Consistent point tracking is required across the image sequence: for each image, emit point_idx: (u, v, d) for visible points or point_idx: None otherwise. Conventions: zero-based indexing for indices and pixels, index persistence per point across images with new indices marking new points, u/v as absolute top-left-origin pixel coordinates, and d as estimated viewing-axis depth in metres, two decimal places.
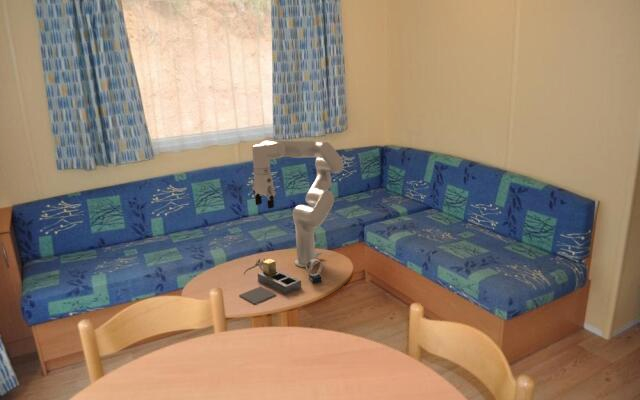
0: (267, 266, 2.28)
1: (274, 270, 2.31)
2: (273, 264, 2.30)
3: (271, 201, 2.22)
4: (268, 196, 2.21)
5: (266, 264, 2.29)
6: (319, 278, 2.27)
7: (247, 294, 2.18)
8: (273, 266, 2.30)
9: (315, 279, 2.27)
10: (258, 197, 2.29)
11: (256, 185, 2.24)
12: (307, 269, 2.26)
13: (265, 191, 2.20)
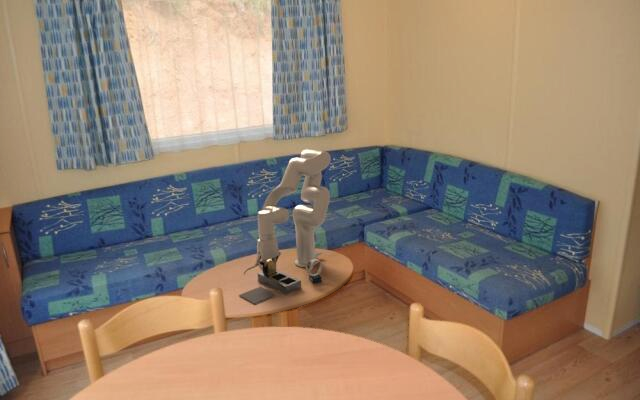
0: (267, 266, 2.28)
1: (274, 270, 2.31)
2: (273, 264, 2.30)
3: None
4: (276, 258, 2.32)
5: (266, 264, 2.29)
6: (319, 278, 2.27)
7: (247, 294, 2.18)
8: (273, 266, 2.30)
9: (315, 279, 2.27)
10: None
11: (267, 251, 2.26)
12: (307, 269, 2.26)
13: (278, 251, 2.31)
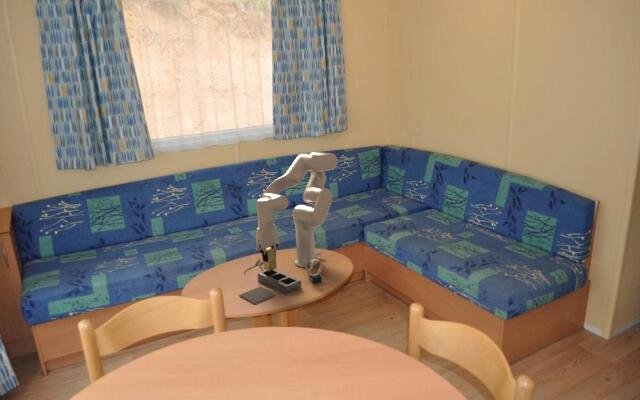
0: (267, 254, 2.27)
1: (274, 258, 2.30)
2: (272, 252, 2.28)
3: None
4: (276, 246, 2.30)
5: (266, 252, 2.27)
6: (319, 278, 2.27)
7: (247, 294, 2.18)
8: (273, 254, 2.29)
9: (315, 279, 2.27)
10: None
11: (267, 239, 2.24)
12: (307, 269, 2.26)
13: (277, 239, 2.29)
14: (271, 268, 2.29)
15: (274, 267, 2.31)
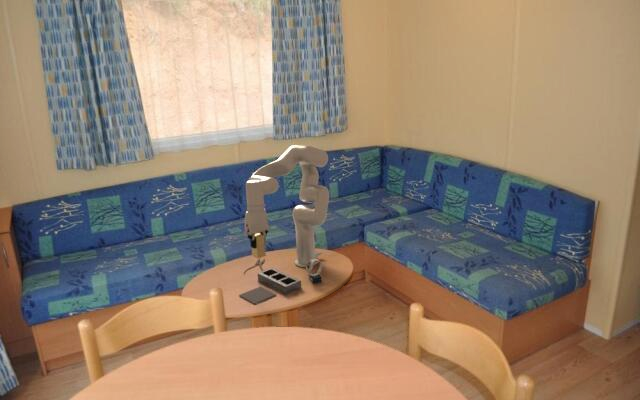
0: None
1: (263, 245, 2.16)
2: (261, 239, 2.15)
3: None
4: (265, 232, 2.17)
5: None
6: (319, 278, 2.27)
7: (247, 294, 2.18)
8: (261, 240, 2.15)
9: (315, 279, 2.27)
10: None
11: (255, 224, 2.11)
12: (307, 269, 2.26)
13: (267, 225, 2.16)
14: (259, 255, 2.16)
15: (263, 254, 2.17)
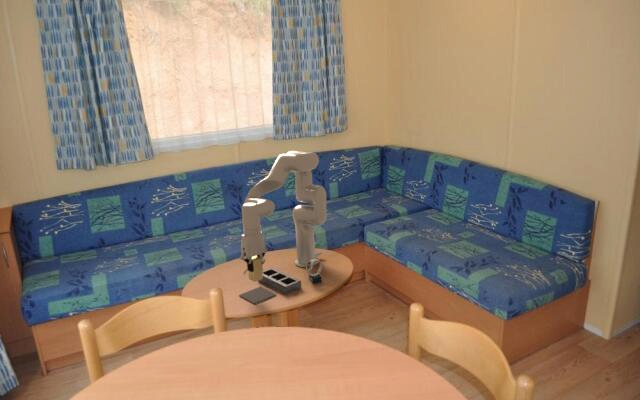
0: (252, 263, 2.10)
1: (260, 268, 2.13)
2: (258, 262, 2.12)
3: None
4: (262, 255, 2.14)
5: (251, 261, 2.11)
6: (319, 278, 2.27)
7: (247, 294, 2.18)
8: (258, 263, 2.12)
9: (315, 279, 2.27)
10: None
11: (252, 248, 2.08)
12: (307, 269, 2.26)
13: (264, 248, 2.13)
14: (257, 278, 2.13)
15: (260, 277, 2.14)
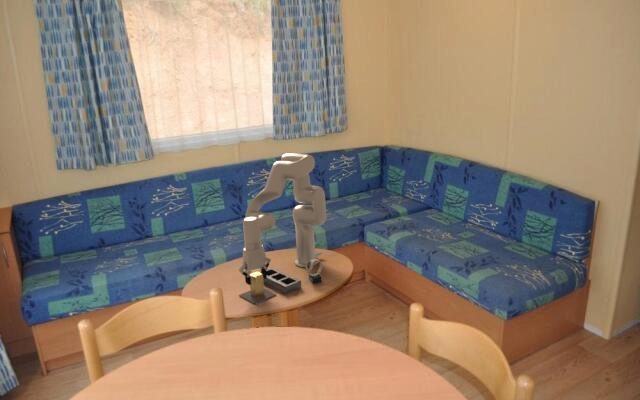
0: (254, 279, 2.13)
1: (261, 284, 2.15)
2: (260, 278, 2.14)
3: None
4: (265, 266, 2.16)
5: (253, 277, 2.13)
6: (319, 278, 2.27)
7: (247, 294, 2.18)
8: (260, 280, 2.14)
9: (315, 279, 2.27)
10: None
11: (253, 261, 2.10)
12: (307, 269, 2.26)
13: (265, 261, 2.15)
14: (258, 294, 2.15)
15: (262, 293, 2.16)
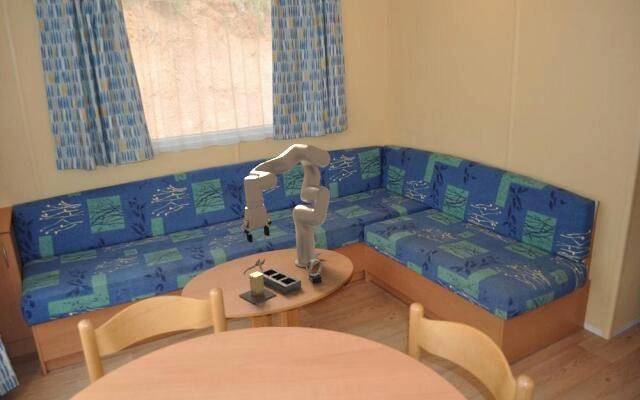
0: (254, 279, 2.13)
1: (261, 284, 2.15)
2: (260, 278, 2.14)
3: None
4: (268, 223, 2.20)
5: (253, 277, 2.13)
6: (319, 278, 2.27)
7: (247, 294, 2.18)
8: (260, 280, 2.14)
9: (315, 279, 2.27)
10: None
11: (255, 220, 2.14)
12: (307, 269, 2.26)
13: (267, 220, 2.18)
14: (258, 294, 2.15)
15: (262, 293, 2.16)
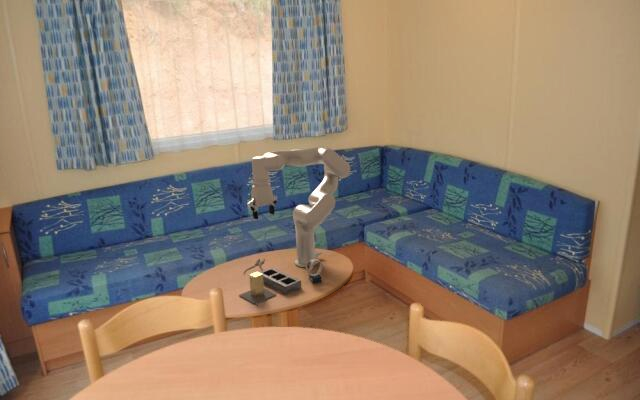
0: (254, 279, 2.13)
1: (261, 284, 2.15)
2: (260, 278, 2.14)
3: None
4: (273, 202, 2.33)
5: (253, 277, 2.13)
6: (319, 278, 2.27)
7: (247, 294, 2.18)
8: (260, 280, 2.14)
9: (315, 279, 2.27)
10: None
11: (261, 197, 2.27)
12: (307, 269, 2.26)
13: (272, 198, 2.32)
14: (258, 294, 2.15)
15: (262, 293, 2.16)
